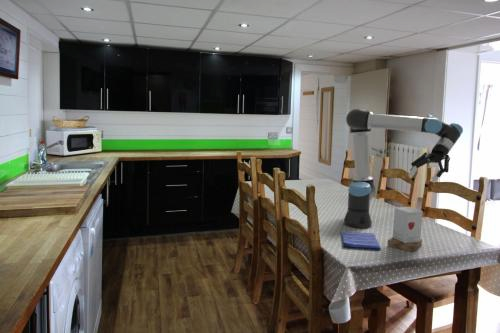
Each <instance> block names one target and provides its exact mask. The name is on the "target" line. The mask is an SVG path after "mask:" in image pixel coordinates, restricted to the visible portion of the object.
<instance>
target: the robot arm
mask: <svg viewBox="0 0 500 333" xmlns="http://www.w3.org/2000/svg"><path fill="white" fill-rule="evenodd" d="M345 122H346V125H347V126H348V127H349V133H350V134H351V135H352V140H353V156H354V158H353V159H354V175H355V176H354V178H352V182H351V183H349V185H348V194H347V195H348V197H347V198H348V199H347V211H346V212H345V216H344V218H343V224H344V225H345V226H348V227H349V228H355V229H368V228H371V227H372V223H373V222H372V221H373V220H372V217H371V213H370V205H371V204H370V203H371V202H370V201H371V200H372V199H373V198H374V196H375V194H376V186H375V184H374V178H373V176H371V159H370V157H371V156H370V140H369V135H370V134H371V132H372V129H382V130H393V131H404V132H415V133H417V132H418V133H425V134H428V133H429V134H433V135H436V136H438V137H439V139H438V141H437V142H436V143H435V145H434V146H433V147H432V148H431V152H430V153H427V152H424V153H423V154H422V155H421V156H419V157H418V158H416V159H415V160H414V161H412V162H410V164H411V166H412V167H411V168H410V171H409V173H408V174H407V176H408V177H409V179H412V178H413V177H414V176H415V175H416V173H417V171H418V168H420V167H423V166H425V165H427V164H430V163H434V164H438V167H439V169H437V170H436V172H435V173H434V174H433V176H432V177H431V181H432V183H433V184H436V182H437V180H438V179H439V178H441V176H442V175H443V174H444V173H448V172H449V168H450V167H449V166H450V160H451V158H450V155H449V153H450V152H451V150H452V149H453V147H454V146H455V145H456V143H457V142H458V140H459V139H460V138H461V135H462V134H463V132H464V129H463V127H462V126H461V124H459V123H456V122H451V123H450V124H448V123H446V122H445V121H442V119H441V120H440V119H439V118H438V117H436V116H434V115H431V114H427V115H426V117H420V116H410V115H409V116H408V115H398V114H397V115H395V114H380V113H373V112H372V111H368V110H367V109H365V108H353V109H351V110H350V111H349V112H348V113H347V115H346V117H345ZM371 128H372V129H371ZM443 161H444V163H442V162H443ZM443 164H444V165H443Z"/></svg>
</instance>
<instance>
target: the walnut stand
mask: <svg viewBox="0 0 500 333" xmlns="http://www.w3.org/2000/svg"><path fill="white" fill-rule="evenodd" d="M422 241H423V239H422V238H420V242H413V243H403V242H401V241H399V240H397V239H395V238H393V236H391V237H390V238H389V239H387V247H390V248H395V249H399V250H404V251H407V252H411V253H415V252H416V251H417V250H419V248H420V247H422V244H423V242H422Z"/></svg>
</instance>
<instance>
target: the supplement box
mask: <svg viewBox="0 0 500 333" xmlns="http://www.w3.org/2000/svg"><path fill="white" fill-rule="evenodd" d="M423 213H424V211H423V210H421V209H417V208H415V207H412V206H401V207H394V215H393V216H394V218H393V228H392V237H393V238H395V239H397V240H399V241H401V242H403V243H413V242H420V239H421V234H422V223H423Z"/></svg>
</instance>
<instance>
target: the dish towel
mask: <svg viewBox="0 0 500 333" xmlns="http://www.w3.org/2000/svg"><path fill="white" fill-rule="evenodd" d="M340 232H341V241H342V247H343V248H345V249H355V250H367V251H381V249H382V247H381V246H380V244H379V242H378V239H377V237H376V235H375V233H374V232H354V231H353V232H352V231H348V230H342V229H341V230H340Z"/></svg>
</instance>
